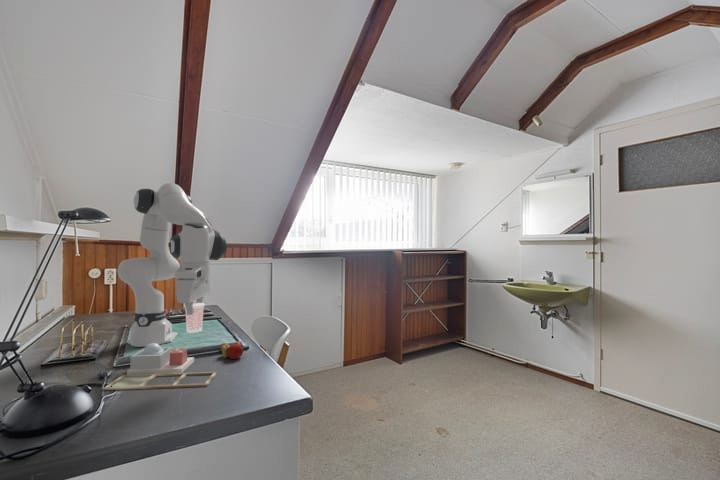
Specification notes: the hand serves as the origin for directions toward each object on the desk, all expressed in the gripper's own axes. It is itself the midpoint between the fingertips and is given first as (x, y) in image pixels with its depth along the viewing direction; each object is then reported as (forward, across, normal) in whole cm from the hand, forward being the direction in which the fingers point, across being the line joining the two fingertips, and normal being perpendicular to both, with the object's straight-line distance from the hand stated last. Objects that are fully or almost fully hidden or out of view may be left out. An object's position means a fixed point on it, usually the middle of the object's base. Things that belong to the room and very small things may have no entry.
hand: (194, 312), depth 114 cm
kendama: (+23, -26, +5) cm, 35 cm away
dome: (+21, -13, -19) cm, 31 cm away
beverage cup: (+7, 0, 0) cm, 7 cm away
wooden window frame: (+23, 0, -9) cm, 25 cm away
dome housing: (+23, -13, -15) cm, 30 cm away
